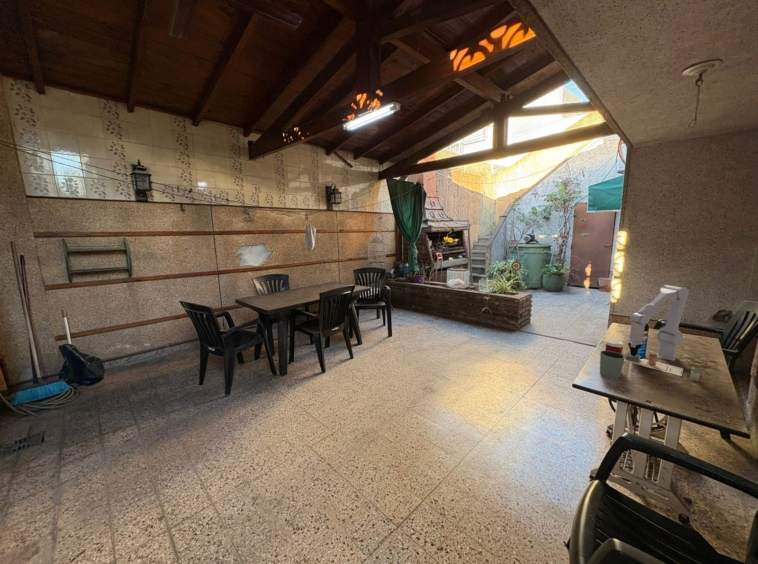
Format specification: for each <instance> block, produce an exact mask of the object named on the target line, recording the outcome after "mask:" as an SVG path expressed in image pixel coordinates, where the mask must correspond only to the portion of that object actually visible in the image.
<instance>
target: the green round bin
mask: <svg viewBox="0 0 758 564" xmlns="http://www.w3.org/2000/svg"><path fill="white" fill-rule="evenodd" d="M599 356H600V359H599V363H600V365H599V374H600V375H601V376H602V377H604V378H607V379H610V380H620V378H621V376H622V370H623V366H624V362H625V361H624V359H625V356H626V355H624V354H620V353H618V352H614V351H606V350H600V353H599Z"/></svg>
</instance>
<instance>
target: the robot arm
mask: <svg viewBox="0 0 758 564" xmlns="http://www.w3.org/2000/svg"><path fill="white" fill-rule="evenodd" d="M689 293H690V291H689V290H688V289H687V288H686V287H681V286H676V285H670V284H664V285H663V286H662V287H660V289H659V294H658V295H657V296H656V297H655V298H654V299H653V300H652V301H651V302H650V303H645V304H644V305H643V307H641V308H640V309H639V310H638V311H637V312H634V313H632V314H631V315H630V316H629V321H630V332H629V338H626V341H628V347H629V353H630V354H631V355H632V356H636V355H638V352H639V350H640V348H641V347H642V346H643V339H644V332H645V327H646V325H647V324H649V322H650V319H651V317H652V316H653V315H655V313H657V311H658V307H660V306H661V305H663V304H664V303H665V302H667V300H670V301H671V303H670V308H669V311H668V316H667V319H666V323H665V326H663V327H661V328H659V330H658V332H657V334H656V339H657V340H658V342H659V345H658V349H657V350H658V351H657V353H656V355H657V358H660V359H664V360H668V361H672V362H673V361H674V362H675V361H676V358H677V357H676V353H677V347H679V346H680V345H681V344H682V343H683V333H682V332H681V331H680V330H679V326H680V322H681V320H682V315H683V312H684V308H685V305H686V302H687V300H688V297H689ZM637 322H638V323H637Z"/></svg>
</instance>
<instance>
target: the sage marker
mask: <svg viewBox="0 0 758 564" xmlns="http://www.w3.org/2000/svg"><path fill="white" fill-rule="evenodd" d="M701 373H702V369H700V368H697V367H691V370H690V374H689V375H690V376H689V380H690V381H692V382H696V383H698V382H699V381H700V376H701Z"/></svg>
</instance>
